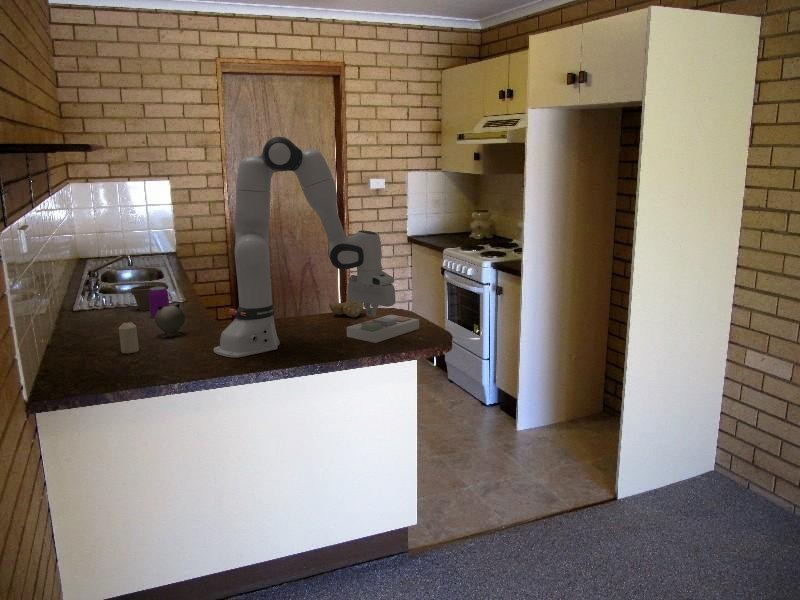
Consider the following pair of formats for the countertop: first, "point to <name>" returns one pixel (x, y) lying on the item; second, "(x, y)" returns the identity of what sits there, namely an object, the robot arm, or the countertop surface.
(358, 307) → the ginger root
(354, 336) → the keypad
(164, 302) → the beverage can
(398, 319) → the terracotta key
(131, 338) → the candle
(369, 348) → the countertop surface
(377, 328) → the sage key
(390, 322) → the grey key
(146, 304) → the flower pot
